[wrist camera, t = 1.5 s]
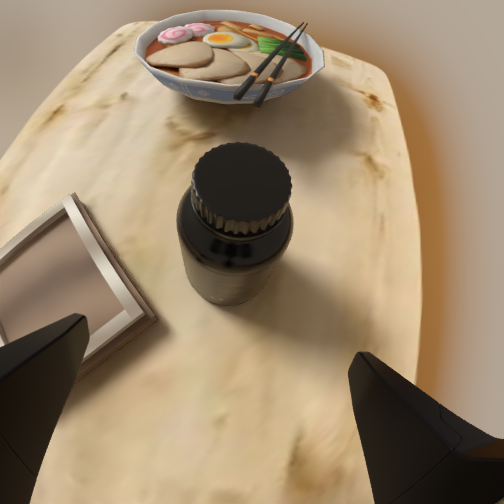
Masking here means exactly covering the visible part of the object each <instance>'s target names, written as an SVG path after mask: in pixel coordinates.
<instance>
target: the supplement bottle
mask: <svg viewBox="0 0 504 504" xmlns="http://www.w3.org/2000/svg"><path fill="white" fill-rule="evenodd" d="M291 189H292V184H291V177H290V175H289V170H288V169H287V168H286V167H285V164H284V163H283V162H282V161H281V160H280V158H279V157H278V156H276V155H274V154H273V153H272V152H271V151H268V150H266V149H265V148H264V147H259V146H258V145H256V144H249V143H240V142H236V143H227V144H225V145H219V146H218V147H216V148H212V149H211V150H210V151H209V152H206V153H205V154H204V156H202V157H201V158H200V159H199V162H198V163H197V164H196V165H195V170H194V171H193V173H192V181H191V186H190V187H189V188H188V189H187V190H186V192H185V193H184V195H183V197H182V198H181V201H180V203H179V206H178V210H177V218H176V221H177V232H178V237H179V242H180V247H181V252H182V256H183V261H184V266H185V270H186V274H187V277H188V279H189V282H190V283H191V285H192V287H193V288H194V289H195V291H196V292H197V293H198V294H199V295H201V296H202V297H203V298H205V299H206V300H208V301H210V302H213V303H216V304H220V305H236V304H241V303H244V302H246V301H248V300H250V299H251V298H253V297H254V296H255V295H257V294H258V293H259V292H260V290H261V289H262V288H263V287H264V285H265V284H266V282H267V280H268V279H269V277H270V275H271V274H272V272H273V271H274V269H275V267H276V266H277V264H278V262H279V261H280V259H281V257H282V256H283V254H284V252H285V251H286V249H287V247H288V245H289V242H290V240H291V237H292V233H293V225H294V222H293V213H292V209H291V206H290V204H289V199H290V197H291Z"/></svg>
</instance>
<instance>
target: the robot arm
mask: <svg viewBox="0 0 504 504" xmlns="http://www.w3.org/2000/svg"><path fill="white" fill-rule="evenodd" d="M89 340H90V334H89V327H88V321H87V317H86V316H85V315H82V314H79V313H73V314H71V315H69V316H67V317H64V318H62V319H60V320H58V321H56V322H53V323H51V324H49V325H47V326H45V327H43V328H40V329H38V330H36V331H34V332H32V333H29V334H27V335H25V336H23V337H21V338H19V339H16V340H14V341H12V342H10V343H8V344H6V345H4V346H1V347H0V504H29V503H30V500H31V496H32V493H33V490H34V486H35V483H36V480H37V479H36V478H37V476H38V473H39V470H40V467H41V464H42V461H43V459H44V456H45V453H46V450H47V447H48V445H49V442H50V440H51V437H52V434H53V432H54V429H55V427H56V424H57V422H58V419H59V417H60V415H61V412H62V410H63V407H64V405H65V403H66V400H67V398H68V396H69V394H70V391H71V389H72V387H73V385H74V383H75V380H76V378H77V375H78V372H79V369H80V366H81V363H82V360H83V358H84V355H85V352H86V349H87V346H88V344H89ZM348 378H349V385H350V392H351V398H352V406H353V411H354V416H355V420H356V424H357V428H358V432H359V436H360V440H361V444H362V448H363V452H364V456H365V461H366V465H367V470H368V474H369V479H370V483H371V488H372V493H373V498H374V502H375V504H504V439H499V438H495V437H492V436H490V435H489V434H486V433H485V432H483V431H482V430H480V429H478V428H477V427H475V426H473V425H472V424H470V423H468V422H467V421H465V420H463V419H462V418H460V417H459V416H457V415H456V414H454V413H453V412H451V411H450V410H448V409H447V408H445V407H444V406H443V405H441V404H439V403H438V402H437V401H436V400H434V399H433V398H432V397H430V396H429V395H427V394H426V393H425V392H423V391H422V390H420V389H419V388H418V387H416V386H415V385H414V384H412V383H411V382H410V381H408V380H407V379H405V378H404V377H403V376H401V375H400V374H399V373H397V372H396V371H394V370H393V369H392V368H390V367H389V366H388V365H386V364H385V363H384V362H382V361H381V360H380V359H378V358H377V357H375V356H374V355H373V354H371V353H370V352H366V351H359V352H357V353H356V355H355V357H354V359H353V361H352V363H351V365H350V368H349V370H348Z"/></svg>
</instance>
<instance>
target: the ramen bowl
mask: <svg viewBox="0 0 504 504" xmlns="http://www.w3.org/2000/svg"><path fill="white" fill-rule="evenodd" d="M303 24H304V22H303V23H302V24H301V25H300V26H299V27H298V28H296V27H294V26H292V25H291V24H289V23H286V22H283V21H280V20H277V19H274V18H271V17H268V16H265V15H262V14H256V13H250V12H244V11H236V10H201V11H195V12H190V13H184V14H179V15H175V16H172V17H170V18H167V19H165V20H162V21H160V22H157V23H155V24H153V25H151V26H150V27H149V28H148V29H146V30H145V31H144V32H143V33H142V34H141V35H140V36H139V37H137V41H136V46H135V50H134V54H135V55H136V56H137V57H138V59H139V60H140V61H141V63H142V64H143V65H144V66H145V67H146V68H147V69H148V70H149V71H150V72H151V73H152V74H153V75H154V76H155V77H156V78H157V79H158V80H159V81H160V82H161V83H162V84H163V85H165V86H166V87H168V88H170V89H171V90H174V91H176V92H178V93H181V94H183V95H185V96H188V97H190V98H192V99H195V100H202V101H209V102H215V103H221V104H245V103H253V106H257V107H261V105H262V103H263V101H266V100H269V99H273V98H276V97H280V96H283V95H285V94H288V93H290V92H292V91H293V90H295V89H297V88H299V87H300V86H301V85H303V84H304V83H305V82H306V81H307V80H309V79H310V78H311V77H312V76H314V75H315V74H316V73H317V72H319V71H320V70H321V69H322V68H323V67H325V62H324V51H323V50H322V49H321V47H320V46H319V45H318V44H317V43H316V42H315V40H314V39H313V38H312V37H311V36H309V35H308V34H306V33H304V32H303V31H304V29H305V28H306V26H307V24H306V25H305V27H304V28H303V29H302V31H301V30H299V28H300V27H301V26H302V25H303Z"/></svg>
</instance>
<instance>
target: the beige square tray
mask: <svg viewBox="0 0 504 504" xmlns="http://www.w3.org/2000/svg"><path fill="white" fill-rule="evenodd" d="M73 313H79V314H82V315H85V316H86V317H87V321H88V327H89V334H90V340H89V344H88V346H87V349H86V352H85V355H84V358H83V360H82V363H81V366H80V369H79V372H78V375H77V378H76V380H75V383H76V382H77V381H79V380H80V379H81V378H83V377H84V376H85V375H86V374H88V373H89V372H90V371H92V370H93V369H94V368H96V367H97V366H98V365H99V364H101V363H102V362H103V361H105V360H106V359H107V358H108V357H110V356H111V355H112V354H114V353H115V352H116V351H118V350H119V349H120V348H121V347H123V346H124V345H125V344H127V343H128V342H129V341H131V340H132V339H133V338H134V337H136V336H137V335H138V334H140V333H141V332H142V331H144V330H145V329H146V328H147V327H149V326H150V325H151V324H153V323H154V322H155V321H157V320H158V319H157V318H156V316H155V315H154V314H153V312H152V311H151V310H150V308H149V307H148V305H147V304H146V303H145V301H144V300H143V299H142V297H141V296H140V294H139V293H138V292H137V290H136V289H135V287H134V286H133V284H132V283H131V282H130V280H129V279H128V277H127V276H126V274H125V273H124V271H123V270H122V268H121V267H120V265H119V264H118V262H117V261H116V259H115V258H114V256H113V255H112V253H111V252H110V250H109V248H108V247H107V245H106V244H105V242H104V240H103V239H102V237H101V236H100V234H99V232H98V231H97V229H96V227H95V226H94V224H93V222H92V221H91V219H90V217H89V216H88V214H87V212H86V210H85V209H84V207H83V205H82V203H81V202H80V200H79V198H78V196H77V195H76V193H73V194H72V195H70V194H69V195H67V196H66V197H64V198H63V199H62V200H60V201H59V202H57V203H56V204H55V205H53V206H52V207H51V208H49V209H48V210H47V211H45V212H44V213H43V214H42V215H40V216H39V217H38V218H36V219H35V220H34V221H33V222H31V223H30V224H29V225H28V226H26V227H25V228H24V229H23V230H22V231H20V232H19V233H18V234H17V235H16V236H14V237H13V238H12V239H11V240H10V241H9V242H8V243H6V244H5V245H4V246H3V247H2V248H1V249H0V347H1V346H4V345H6V344H8V343H10V342H12V341H14V340H16V339H19V338H21V337H23V336H25V335H27V334H29V333H32V332H34V331H36V330H38V329H40V328H43V327H45V326H47V325H49V324H51V323H53V322H56V321H58V320H60V319H62V318H64V317H67V316H69V315H71V314H73ZM75 383H74V384H75Z"/></svg>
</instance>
